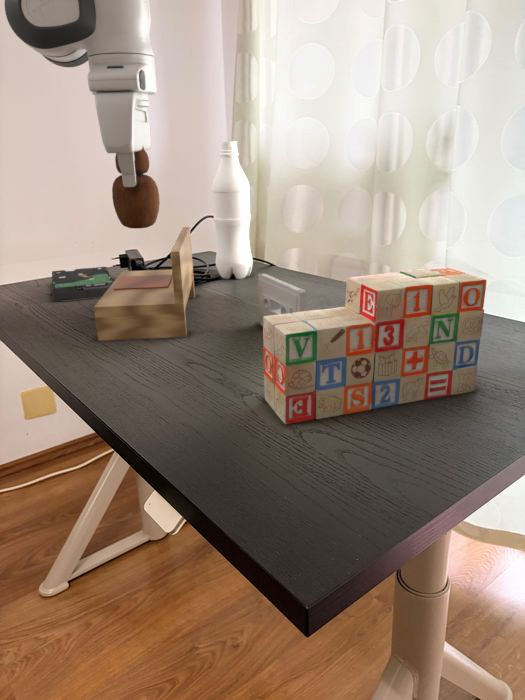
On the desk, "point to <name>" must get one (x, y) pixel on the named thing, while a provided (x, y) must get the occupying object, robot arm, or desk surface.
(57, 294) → the disk drive
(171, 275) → the wooden bookend
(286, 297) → the cassette
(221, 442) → the desk surface
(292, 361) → the stack of blocks
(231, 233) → the water bottle
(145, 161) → the wooden figurine
